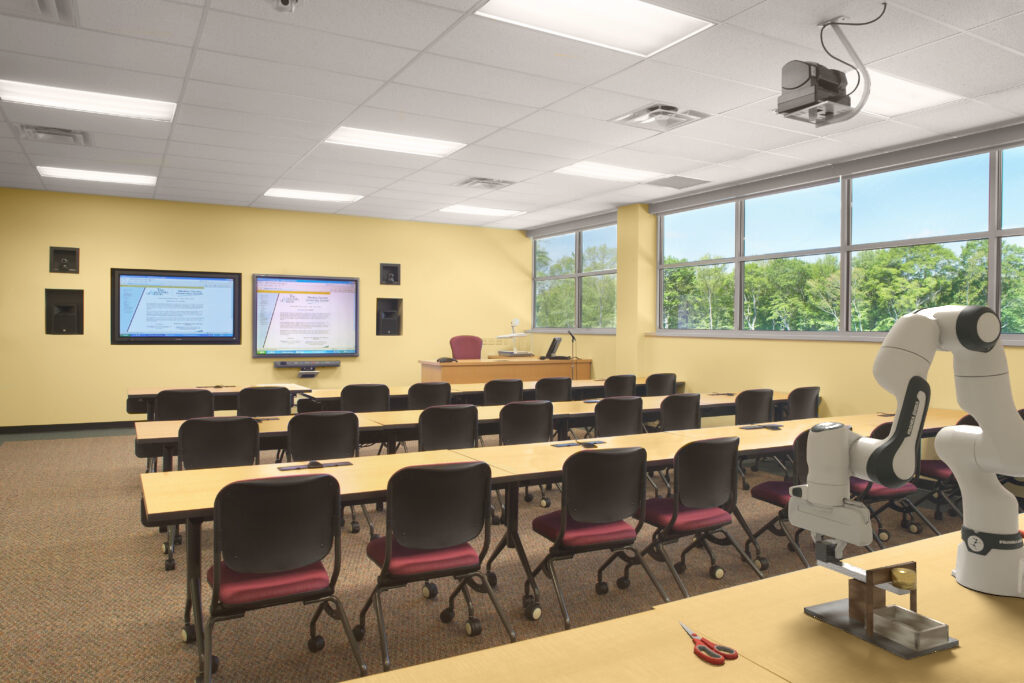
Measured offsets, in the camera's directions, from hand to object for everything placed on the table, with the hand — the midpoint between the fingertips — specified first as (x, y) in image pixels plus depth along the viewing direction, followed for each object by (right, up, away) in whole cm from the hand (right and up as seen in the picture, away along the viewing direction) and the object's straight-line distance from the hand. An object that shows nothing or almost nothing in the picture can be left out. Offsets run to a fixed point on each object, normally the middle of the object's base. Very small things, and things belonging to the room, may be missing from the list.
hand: (828, 554), depth 150 cm
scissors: (-35, -13, -16) cm, 41 cm away
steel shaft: (+3, -3, -8) cm, 9 cm away
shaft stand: (+5, -12, -11) cm, 17 cm away
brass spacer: (+7, -1, -17) cm, 18 cm away
